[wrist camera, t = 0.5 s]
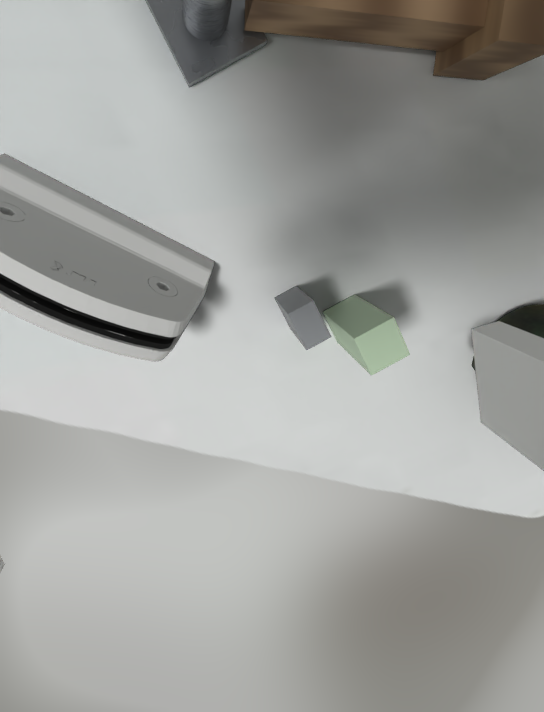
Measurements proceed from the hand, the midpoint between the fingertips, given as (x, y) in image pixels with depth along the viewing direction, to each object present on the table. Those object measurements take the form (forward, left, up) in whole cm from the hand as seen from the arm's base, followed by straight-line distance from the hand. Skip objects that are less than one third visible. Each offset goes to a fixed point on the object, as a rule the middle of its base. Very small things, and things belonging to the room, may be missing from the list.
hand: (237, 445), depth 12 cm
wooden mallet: (-10, +18, -27) cm, 34 cm away
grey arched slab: (-6, -7, -27) cm, 29 cm away
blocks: (+7, +7, -27) cm, 28 cm away
